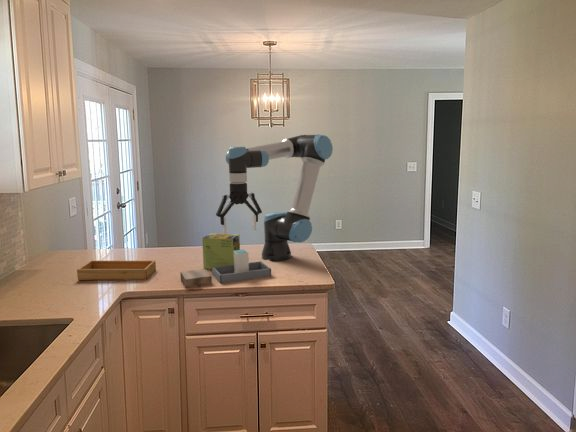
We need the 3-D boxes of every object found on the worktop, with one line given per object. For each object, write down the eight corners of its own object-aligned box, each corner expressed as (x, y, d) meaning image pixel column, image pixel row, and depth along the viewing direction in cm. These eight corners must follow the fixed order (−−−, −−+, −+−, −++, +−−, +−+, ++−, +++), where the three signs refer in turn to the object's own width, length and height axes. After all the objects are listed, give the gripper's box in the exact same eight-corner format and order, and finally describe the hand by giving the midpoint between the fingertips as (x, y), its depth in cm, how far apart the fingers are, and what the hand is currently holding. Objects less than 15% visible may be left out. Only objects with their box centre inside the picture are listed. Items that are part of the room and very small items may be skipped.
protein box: (234, 271, 226) (233, 238, 223) (203, 269, 229) (201, 237, 226) (241, 265, 236) (240, 233, 233) (211, 263, 239) (209, 233, 236)
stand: (205, 277, 217) (205, 268, 216) (211, 285, 206) (211, 276, 205) (180, 280, 213) (180, 271, 212) (185, 288, 202) (185, 279, 201)
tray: (156, 271, 230) (155, 259, 229) (146, 281, 215) (145, 268, 214) (91, 272, 230) (90, 260, 229) (77, 281, 215) (76, 269, 214)
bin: (261, 269, 227) (261, 261, 227) (271, 277, 215) (271, 268, 214) (212, 275, 219) (212, 267, 218) (220, 284, 206) (219, 275, 206)
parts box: (245, 272, 220) (244, 249, 218) (249, 276, 215) (248, 252, 213) (234, 274, 219) (233, 250, 217) (238, 277, 213) (237, 253, 211)
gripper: (262, 180, 217) (263, 226, 221) (207, 183, 208) (209, 231, 212) (268, 181, 211) (269, 229, 214) (211, 185, 201) (213, 235, 205)
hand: (239, 230), depth 213 cm, fingers open, 13 cm apart
